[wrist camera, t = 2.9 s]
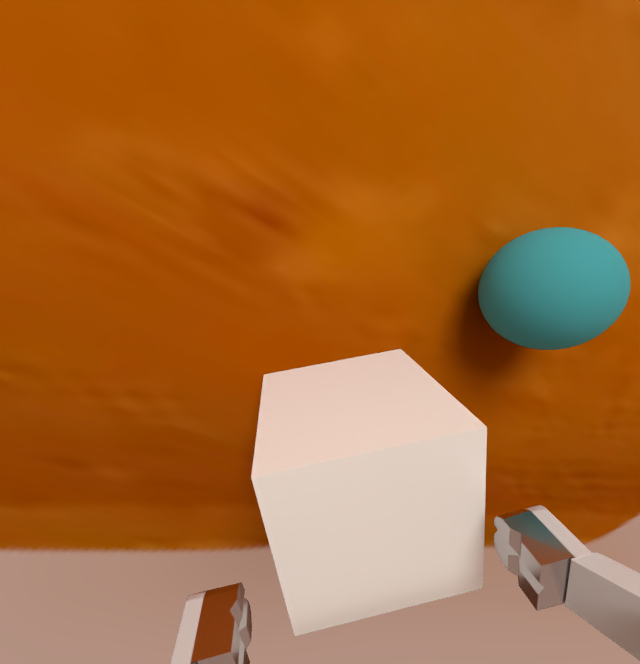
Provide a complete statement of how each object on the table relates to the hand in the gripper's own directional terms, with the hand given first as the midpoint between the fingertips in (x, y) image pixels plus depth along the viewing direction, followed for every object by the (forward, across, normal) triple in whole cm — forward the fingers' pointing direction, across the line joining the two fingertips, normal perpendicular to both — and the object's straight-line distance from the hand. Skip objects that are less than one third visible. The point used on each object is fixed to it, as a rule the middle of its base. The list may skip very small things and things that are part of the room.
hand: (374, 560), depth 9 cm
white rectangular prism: (+7, 0, 0) cm, 7 cm away
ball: (+4, -10, -6) cm, 12 cm away
